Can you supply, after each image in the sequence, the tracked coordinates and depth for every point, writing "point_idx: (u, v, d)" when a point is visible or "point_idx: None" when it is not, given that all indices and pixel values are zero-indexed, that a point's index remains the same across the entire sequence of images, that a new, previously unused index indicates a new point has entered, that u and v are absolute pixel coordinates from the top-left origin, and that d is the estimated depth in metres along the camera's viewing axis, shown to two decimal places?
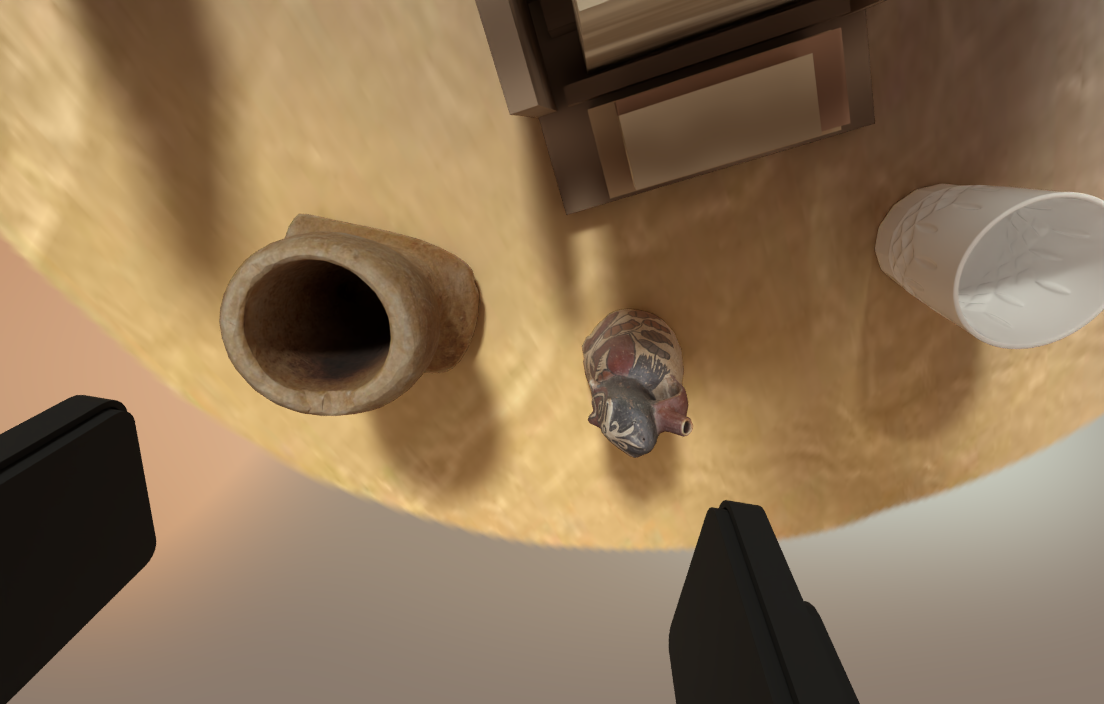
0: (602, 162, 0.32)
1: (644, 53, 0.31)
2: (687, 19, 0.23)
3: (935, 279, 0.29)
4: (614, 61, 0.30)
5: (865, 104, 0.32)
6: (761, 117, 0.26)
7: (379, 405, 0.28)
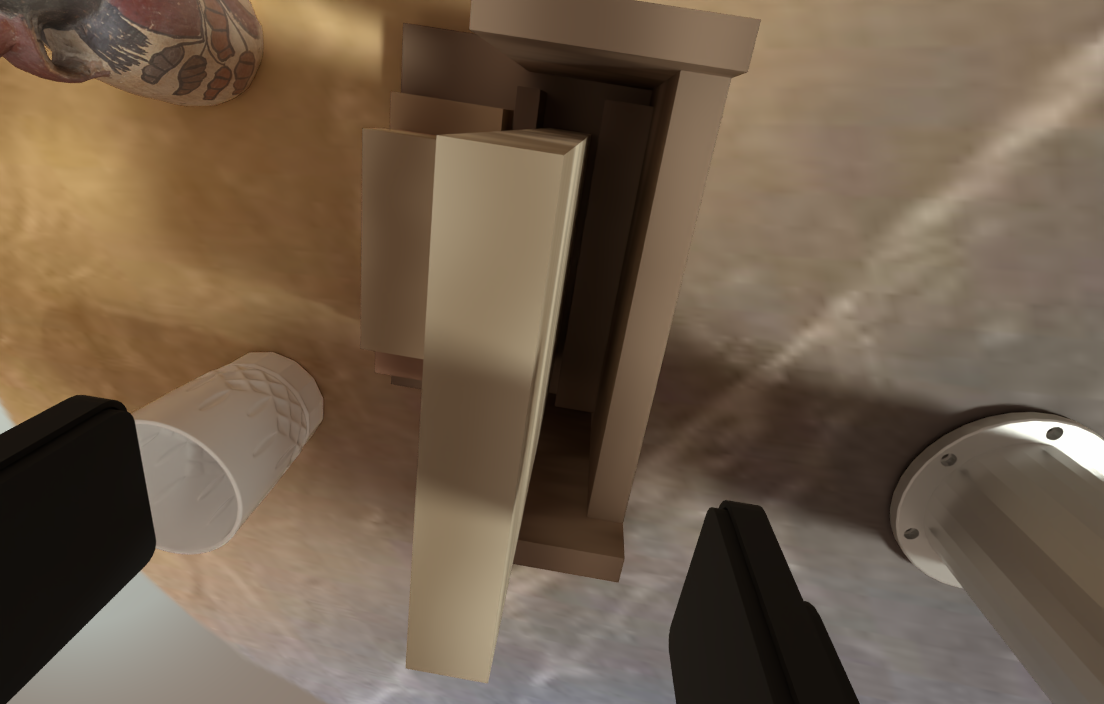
0: (437, 100, 0.24)
1: None
2: None
3: (187, 405, 0.27)
4: None
5: (411, 380, 0.33)
6: (397, 298, 0.23)
7: None
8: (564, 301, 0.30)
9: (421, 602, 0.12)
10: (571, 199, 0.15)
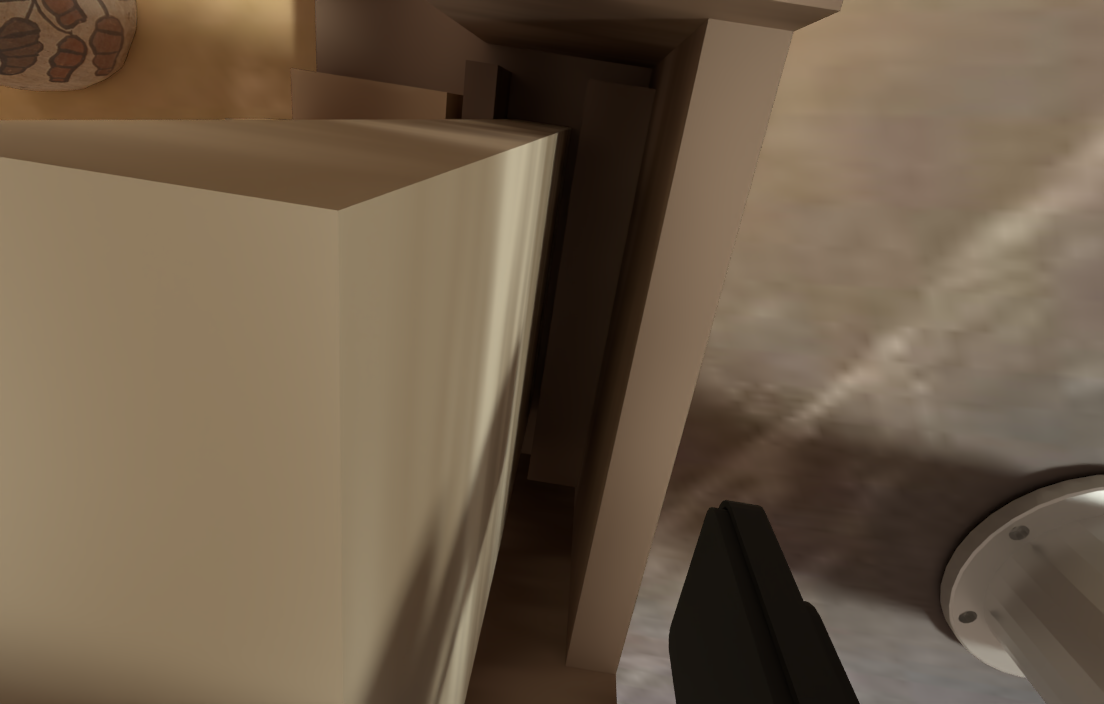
0: (355, 80, 0.17)
1: None
2: None
3: None
4: None
5: None
6: None
7: None
8: (539, 343, 0.23)
9: None
10: (519, 244, 0.08)
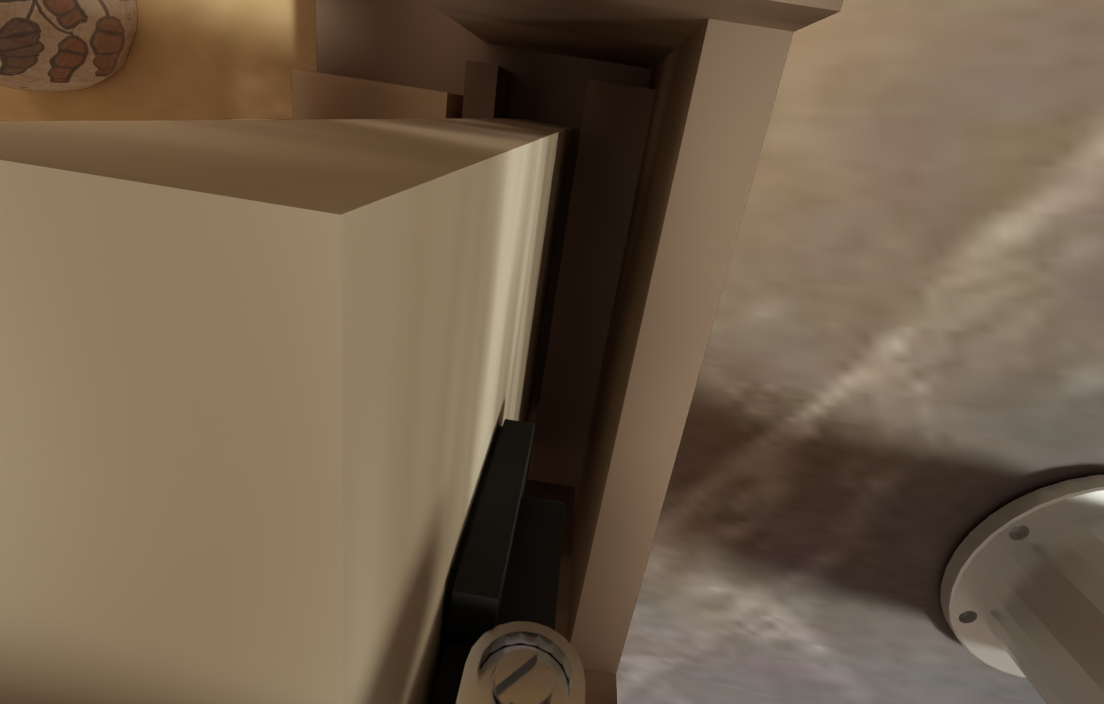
0: (355, 81, 0.17)
1: None
2: None
3: None
4: None
5: None
6: None
7: None
8: (539, 342, 0.23)
9: None
10: (520, 244, 0.08)
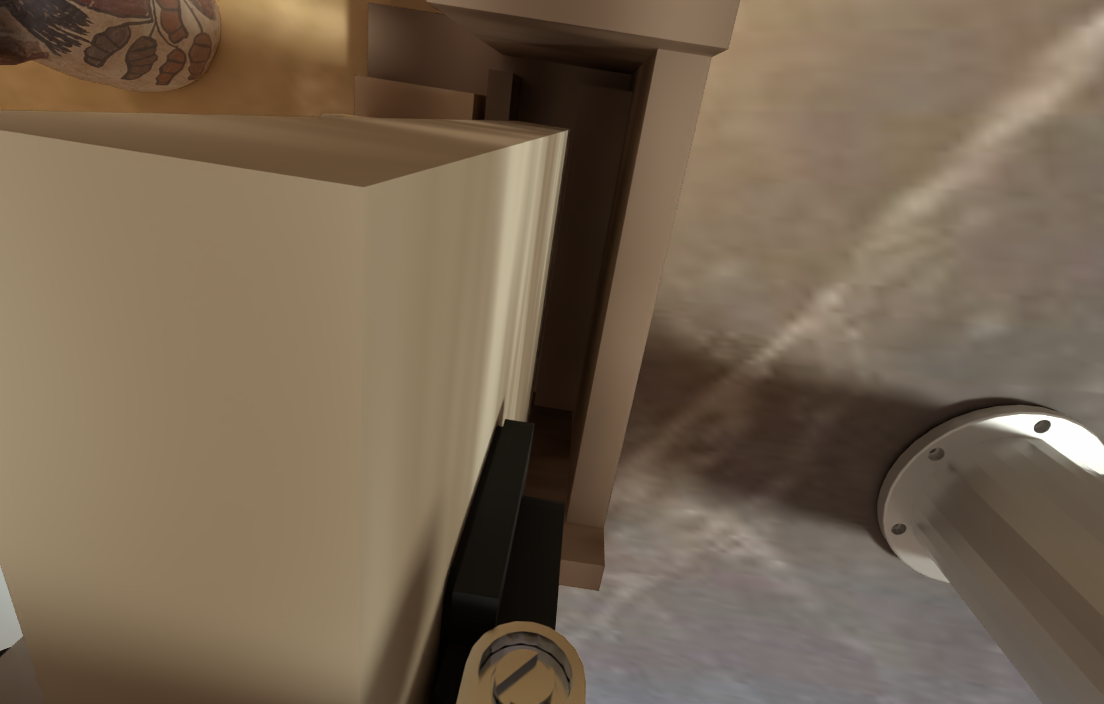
0: (404, 85, 0.23)
1: None
2: None
3: None
4: None
5: None
6: None
7: None
8: None
9: None
10: (521, 240, 0.08)
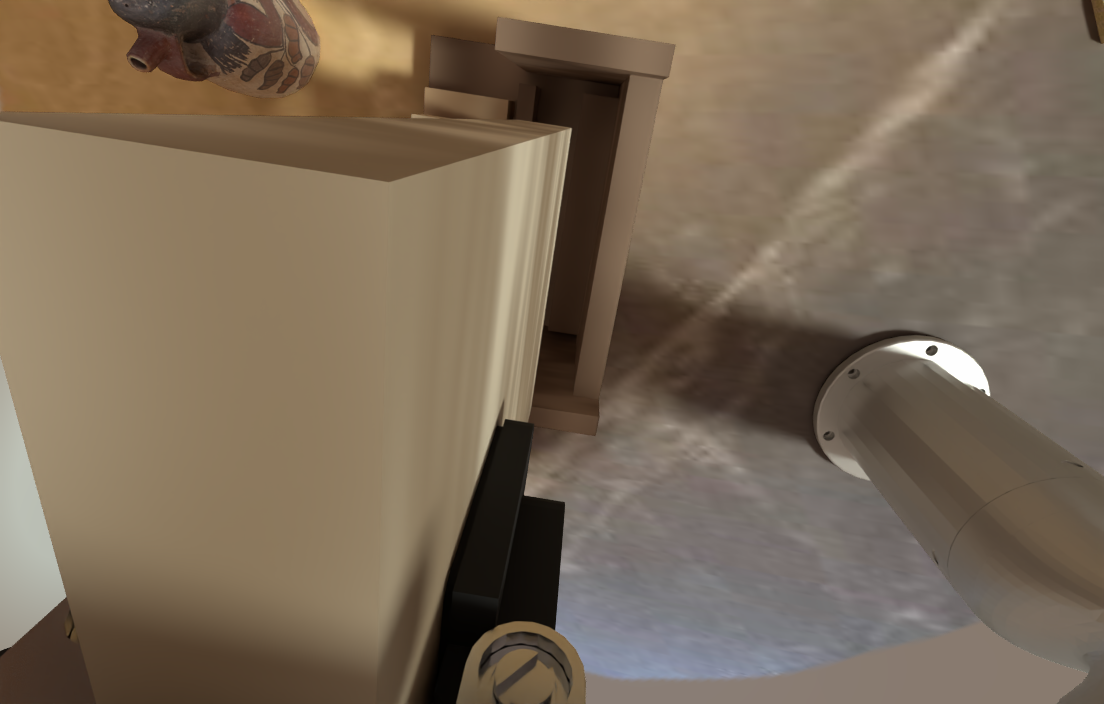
0: (459, 93, 0.33)
1: None
2: None
3: None
4: None
5: None
6: None
7: None
8: (540, 339, 0.24)
9: None
10: (523, 236, 0.09)
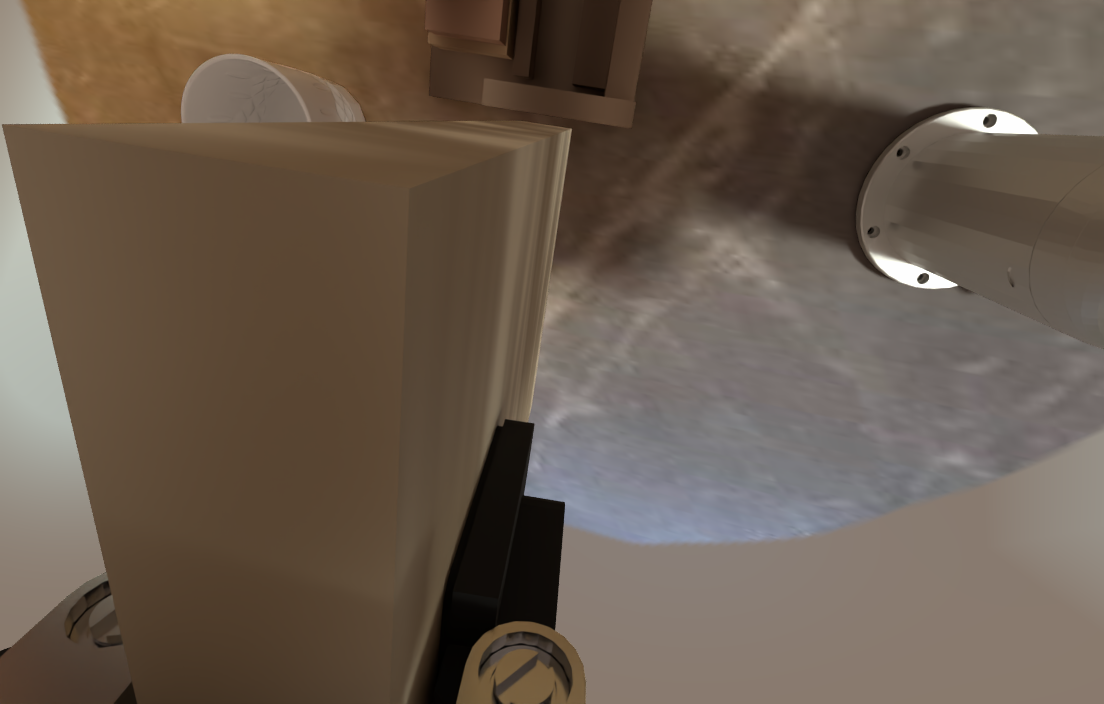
0: None
1: None
2: None
3: (266, 60, 0.32)
4: None
5: (446, 91, 0.38)
6: None
7: None
8: (541, 337, 0.24)
9: None
10: (525, 235, 0.09)
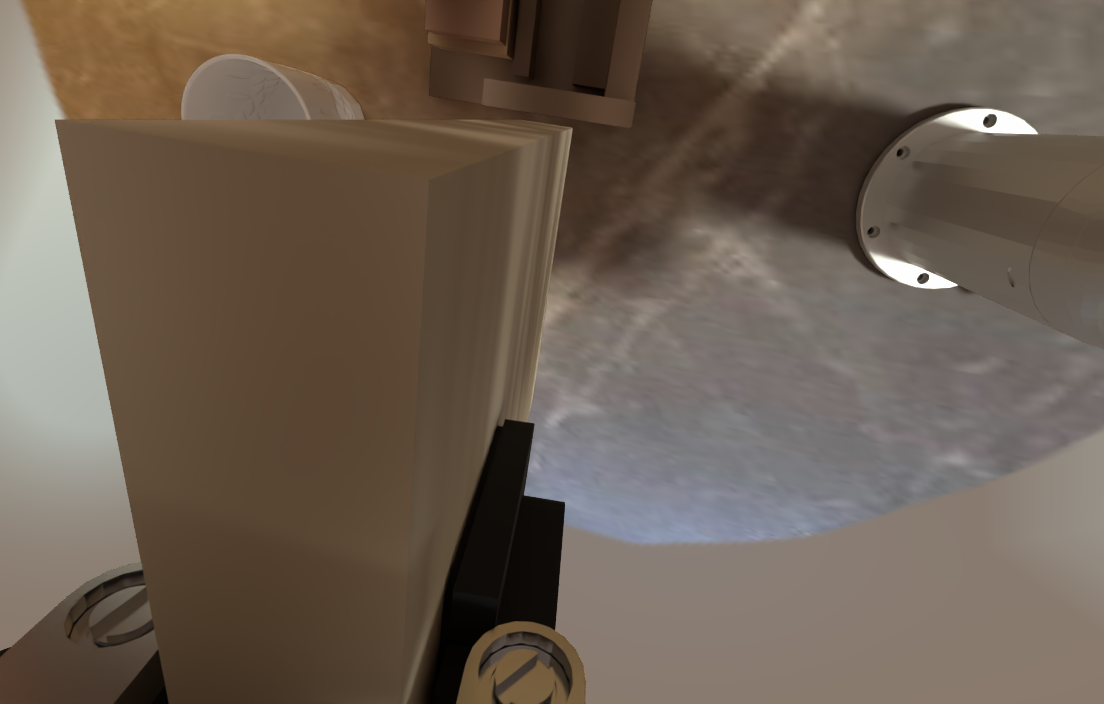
0: None
1: None
2: None
3: None
4: None
5: (446, 91, 0.38)
6: None
7: None
8: (541, 334, 0.24)
9: None
10: (528, 231, 0.09)
